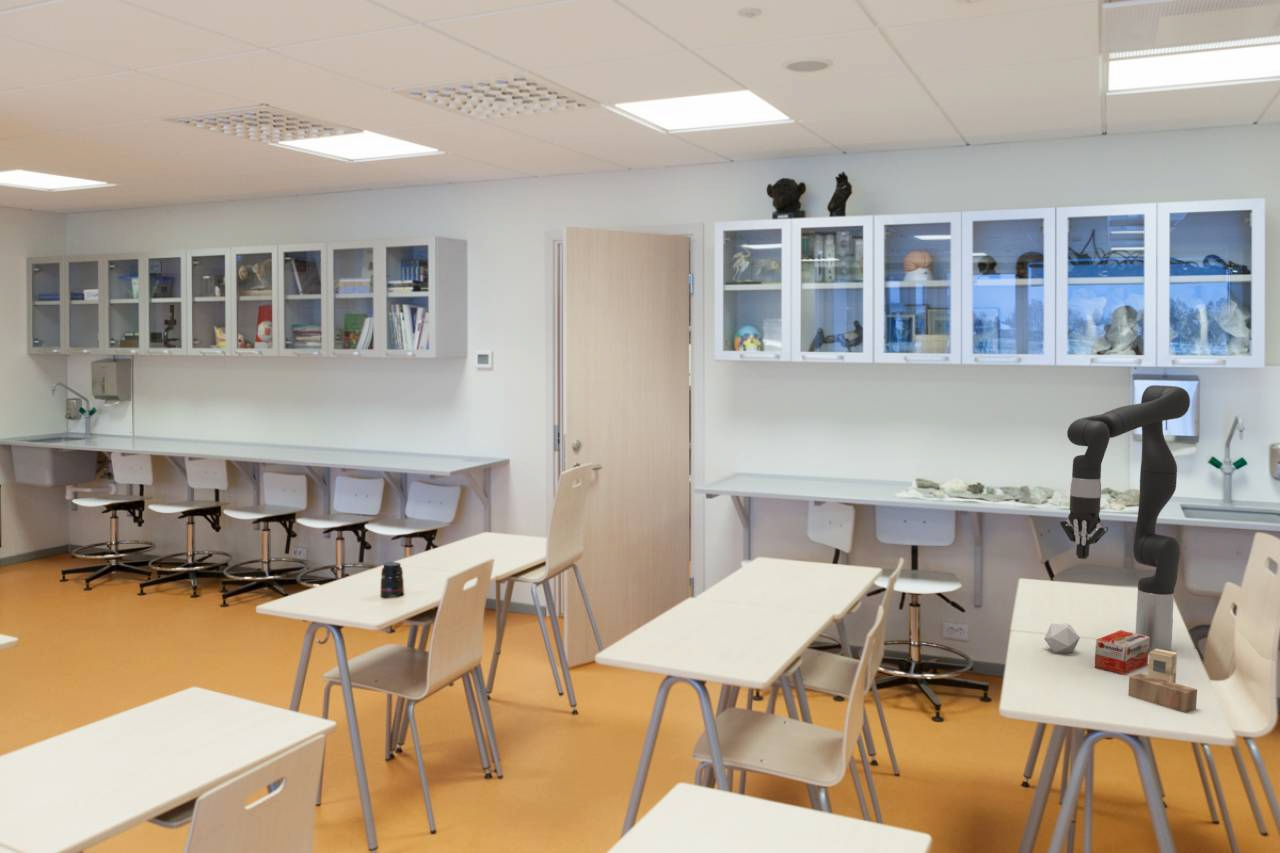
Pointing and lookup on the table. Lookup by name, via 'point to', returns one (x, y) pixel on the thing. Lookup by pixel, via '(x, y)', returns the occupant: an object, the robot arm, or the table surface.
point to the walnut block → (1162, 692)
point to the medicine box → (1122, 652)
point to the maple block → (1163, 665)
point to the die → (1061, 638)
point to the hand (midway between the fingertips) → (1082, 558)
